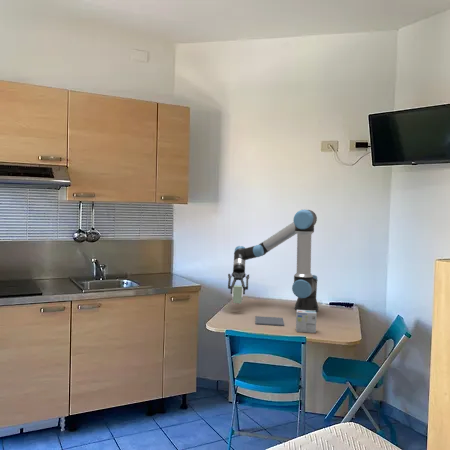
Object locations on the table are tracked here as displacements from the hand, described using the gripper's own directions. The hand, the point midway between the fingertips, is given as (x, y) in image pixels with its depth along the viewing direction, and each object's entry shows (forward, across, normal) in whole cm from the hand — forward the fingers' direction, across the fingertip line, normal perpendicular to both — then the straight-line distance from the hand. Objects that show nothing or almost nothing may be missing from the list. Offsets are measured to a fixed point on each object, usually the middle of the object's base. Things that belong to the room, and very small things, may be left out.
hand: (237, 297), depth 282 cm
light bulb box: (+28, -38, +13) cm, 49 cm away
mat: (+17, -19, +3) cm, 26 cm away
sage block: (0, 0, -5) cm, 5 cm away
